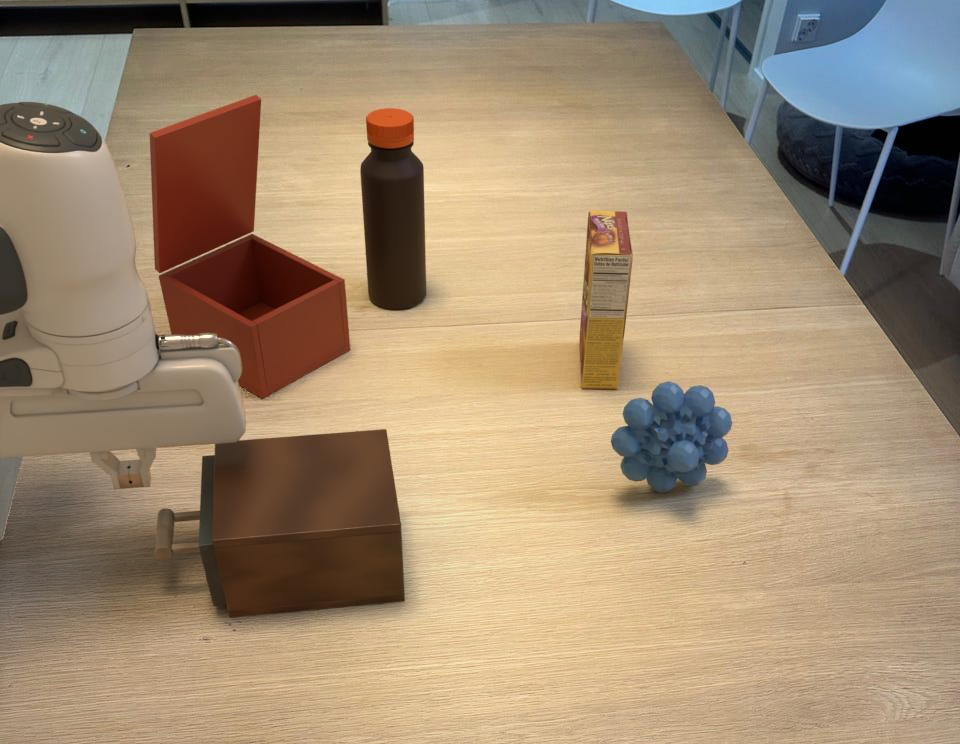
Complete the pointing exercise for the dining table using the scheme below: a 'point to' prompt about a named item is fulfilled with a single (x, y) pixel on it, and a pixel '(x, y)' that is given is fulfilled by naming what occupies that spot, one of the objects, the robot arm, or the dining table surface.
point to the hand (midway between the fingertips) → (133, 483)
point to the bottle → (393, 211)
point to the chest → (261, 310)
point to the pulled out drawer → (205, 543)
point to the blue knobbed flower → (672, 436)
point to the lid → (204, 181)
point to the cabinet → (307, 523)
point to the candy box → (604, 298)
